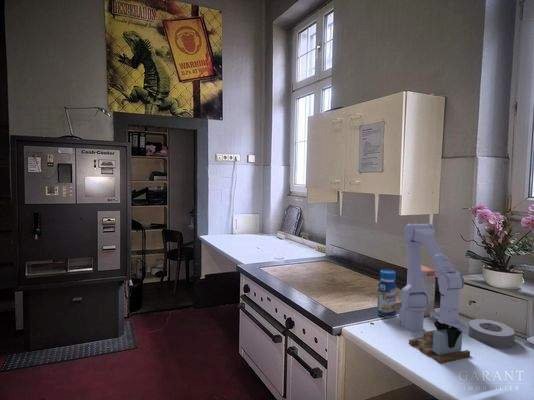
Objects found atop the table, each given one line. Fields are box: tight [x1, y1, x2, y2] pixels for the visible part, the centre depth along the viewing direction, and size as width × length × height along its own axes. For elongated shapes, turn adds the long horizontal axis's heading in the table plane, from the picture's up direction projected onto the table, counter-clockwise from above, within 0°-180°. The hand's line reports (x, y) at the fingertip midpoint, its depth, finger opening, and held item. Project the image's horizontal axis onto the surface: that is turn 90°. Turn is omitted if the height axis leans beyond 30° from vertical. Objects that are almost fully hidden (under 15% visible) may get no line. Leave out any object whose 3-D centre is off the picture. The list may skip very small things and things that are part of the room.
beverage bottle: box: [376, 269, 398, 319], centre depth 162 cm, size 8×8×20 cm
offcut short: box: [422, 329, 437, 342], centre depth 132 cm, size 3×6×2 cm, turn 110°
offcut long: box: [418, 339, 433, 346], centre depth 132 cm, size 3×9×2 cm, turn 110°
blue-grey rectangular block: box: [432, 329, 463, 355], centre depth 125 cm, size 3×10×7 cm, turn 110°
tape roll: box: [467, 318, 516, 349], centre depth 140 cm, size 15×15×5 cm
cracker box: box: [406, 264, 437, 317], centre depth 167 cm, size 14×6×21 cm, turn 9°
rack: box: [408, 336, 472, 365], centre depth 128 cm, size 15×14×2 cm
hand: (447, 344), depth 125 cm, fingers closed on blue-grey rectangular block, 3 cm apart
